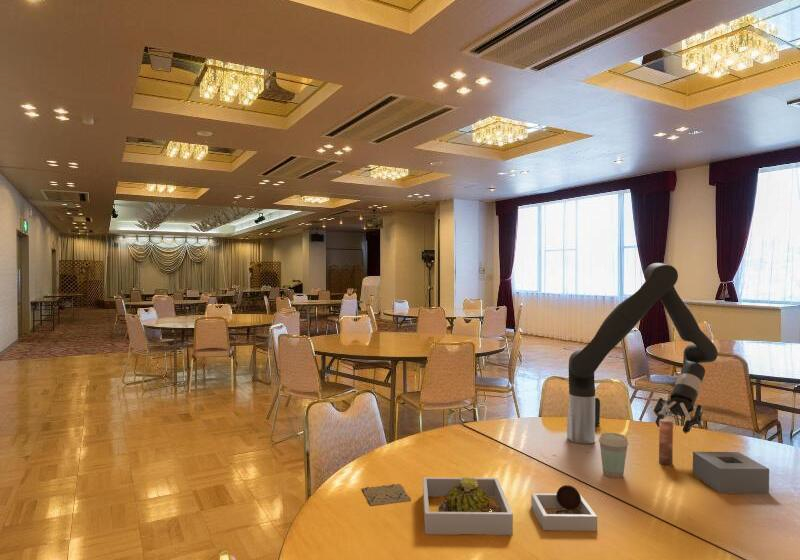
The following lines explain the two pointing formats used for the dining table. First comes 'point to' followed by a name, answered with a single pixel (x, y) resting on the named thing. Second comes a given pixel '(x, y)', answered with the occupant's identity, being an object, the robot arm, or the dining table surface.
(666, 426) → the pin
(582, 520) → the tray
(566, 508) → the dark brown rounded piece
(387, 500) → the speckled stone tile
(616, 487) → the dining table surface
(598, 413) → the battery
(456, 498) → the cactus
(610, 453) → the coffee cup
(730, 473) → the hole block
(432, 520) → the cactus tray
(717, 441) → the dining table surface
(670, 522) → the dining table surface
